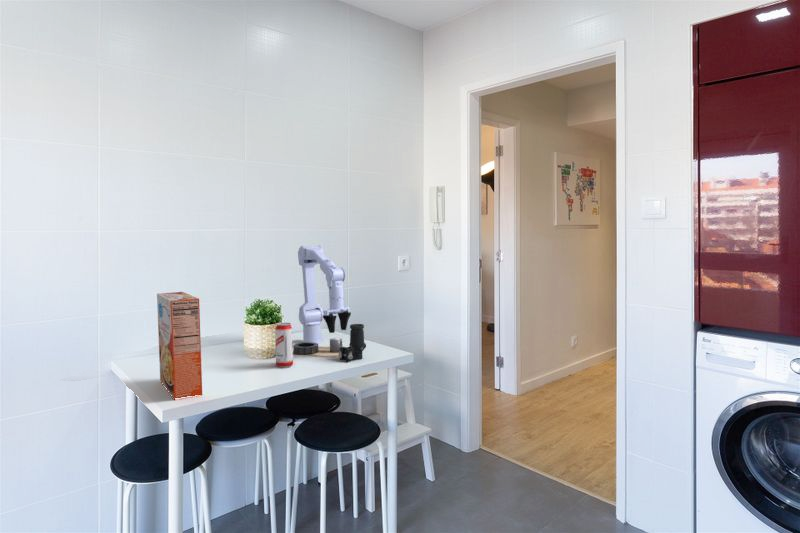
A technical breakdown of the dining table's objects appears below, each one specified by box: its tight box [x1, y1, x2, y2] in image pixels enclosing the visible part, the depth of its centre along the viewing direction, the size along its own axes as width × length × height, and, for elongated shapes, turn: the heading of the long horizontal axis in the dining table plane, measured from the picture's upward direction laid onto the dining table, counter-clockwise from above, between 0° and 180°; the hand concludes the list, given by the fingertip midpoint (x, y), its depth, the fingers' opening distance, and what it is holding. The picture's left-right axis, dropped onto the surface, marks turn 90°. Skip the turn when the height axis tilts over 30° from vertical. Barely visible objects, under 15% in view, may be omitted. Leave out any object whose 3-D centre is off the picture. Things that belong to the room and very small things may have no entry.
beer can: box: [274, 322, 294, 369], centre depth 188 cm, size 6×6×16 cm
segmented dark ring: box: [293, 341, 319, 355], centre depth 207 cm, size 10×10×3 cm
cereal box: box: [156, 291, 203, 400], centre depth 161 cm, size 23×8×30 cm, turn 35°
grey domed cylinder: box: [329, 337, 343, 353], centre depth 208 cm, size 5×5×5 cm
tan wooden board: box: [293, 345, 341, 359], centre depth 208 cm, size 18×24×1 cm
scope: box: [339, 323, 367, 363], centre depth 195 cm, size 8×14×10 cm
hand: (337, 331), depth 204 cm, fingers open, 7 cm apart
